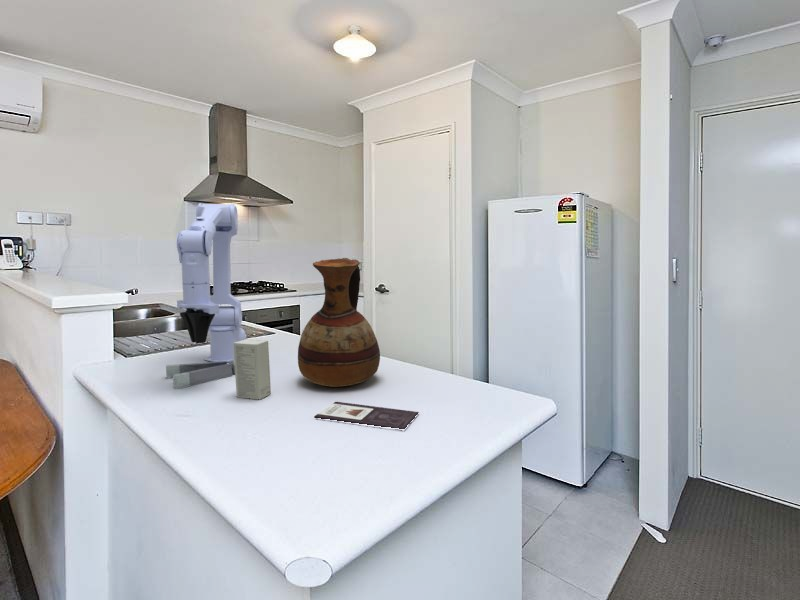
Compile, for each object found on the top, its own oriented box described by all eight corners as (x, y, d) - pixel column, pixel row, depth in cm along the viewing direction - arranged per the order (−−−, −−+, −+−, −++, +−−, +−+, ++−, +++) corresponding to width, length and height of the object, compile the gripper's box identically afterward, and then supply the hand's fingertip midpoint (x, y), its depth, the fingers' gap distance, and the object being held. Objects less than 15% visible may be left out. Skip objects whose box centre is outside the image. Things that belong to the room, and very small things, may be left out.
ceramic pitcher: (284, 390, 106) (281, 258, 102) (315, 368, 126) (314, 256, 122) (368, 395, 102) (368, 259, 99) (386, 372, 122) (387, 257, 119)
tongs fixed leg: (241, 370, 122) (241, 358, 122) (242, 374, 119) (241, 361, 119) (167, 376, 116) (166, 363, 116) (165, 380, 113) (164, 366, 113)
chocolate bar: (404, 428, 83) (314, 416, 88) (404, 433, 83) (314, 421, 88) (418, 412, 91) (335, 401, 97) (418, 416, 91) (335, 405, 97)
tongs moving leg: (228, 374, 118) (228, 363, 118) (232, 376, 117) (231, 364, 117) (173, 387, 107) (173, 374, 107) (177, 388, 106) (176, 376, 106)
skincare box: (271, 394, 103) (270, 340, 101) (259, 400, 99) (257, 344, 97) (247, 391, 105) (246, 338, 104) (234, 397, 101) (232, 342, 99)
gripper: (162, 282, 107) (165, 340, 109) (196, 286, 99) (199, 349, 100) (192, 281, 113) (194, 336, 114) (226, 284, 104) (228, 344, 106)
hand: (198, 342), depth 108 cm, fingers closed
